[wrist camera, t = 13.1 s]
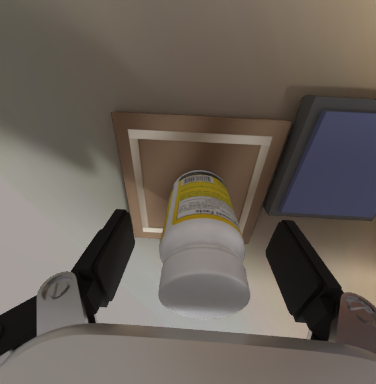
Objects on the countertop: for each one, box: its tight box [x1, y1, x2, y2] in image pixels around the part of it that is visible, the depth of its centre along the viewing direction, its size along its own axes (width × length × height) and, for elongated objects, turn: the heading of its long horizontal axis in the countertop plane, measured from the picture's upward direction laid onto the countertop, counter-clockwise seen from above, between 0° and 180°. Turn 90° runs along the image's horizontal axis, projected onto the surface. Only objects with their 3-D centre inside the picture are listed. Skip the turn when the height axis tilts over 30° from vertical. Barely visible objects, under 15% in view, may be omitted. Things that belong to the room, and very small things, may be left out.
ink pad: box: [263, 96, 376, 221], centre depth 12 cm, size 9×9×2 cm
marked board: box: [111, 112, 292, 244], centre depth 14 cm, size 12×12×1 cm
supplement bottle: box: [159, 170, 250, 319], centre depth 11 cm, size 5×5×8 cm
